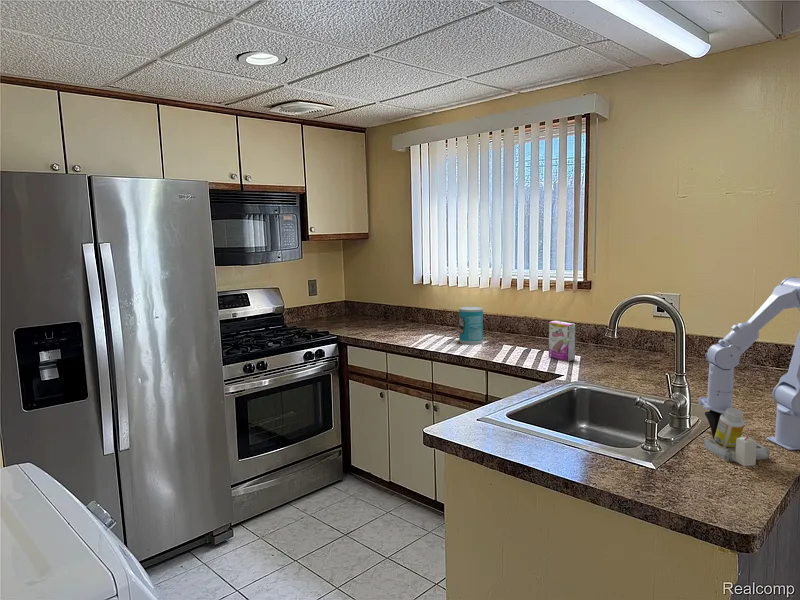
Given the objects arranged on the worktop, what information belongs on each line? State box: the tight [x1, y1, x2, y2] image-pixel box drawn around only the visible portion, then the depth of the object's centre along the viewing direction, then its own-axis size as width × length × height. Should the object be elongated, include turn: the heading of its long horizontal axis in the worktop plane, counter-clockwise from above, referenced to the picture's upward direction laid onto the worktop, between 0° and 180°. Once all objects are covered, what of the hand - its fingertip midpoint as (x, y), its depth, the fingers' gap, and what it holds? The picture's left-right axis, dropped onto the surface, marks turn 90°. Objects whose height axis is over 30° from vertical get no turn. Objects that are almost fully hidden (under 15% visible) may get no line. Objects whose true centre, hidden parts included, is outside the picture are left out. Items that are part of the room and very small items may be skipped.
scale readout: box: [734, 436, 758, 467], centre depth 134 cm, size 3×3×6 cm
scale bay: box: [703, 435, 770, 463], centre depth 140 cm, size 11×9×2 cm
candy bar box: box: [548, 320, 576, 363], centre depth 243 cm, size 11×5×16 cm, turn 34°
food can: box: [458, 305, 484, 346], centre depth 282 cm, size 12×12×18 cm
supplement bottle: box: [713, 407, 745, 450], centre depth 142 cm, size 6×6×10 cm
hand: (717, 438), depth 147 cm, fingers closed
